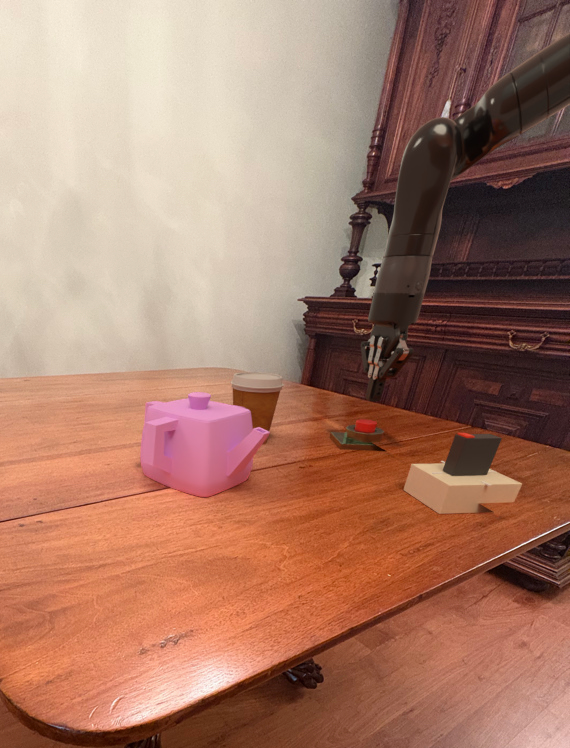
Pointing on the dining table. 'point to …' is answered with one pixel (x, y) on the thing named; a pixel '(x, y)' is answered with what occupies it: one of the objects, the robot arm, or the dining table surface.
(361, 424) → the power button
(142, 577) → the dining table surface
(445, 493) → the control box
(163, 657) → the dining table surface
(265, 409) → the disposable coffee cup
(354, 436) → the switch block
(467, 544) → the dining table surface
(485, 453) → the switch lever
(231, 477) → the teakettle
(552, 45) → the robot arm
